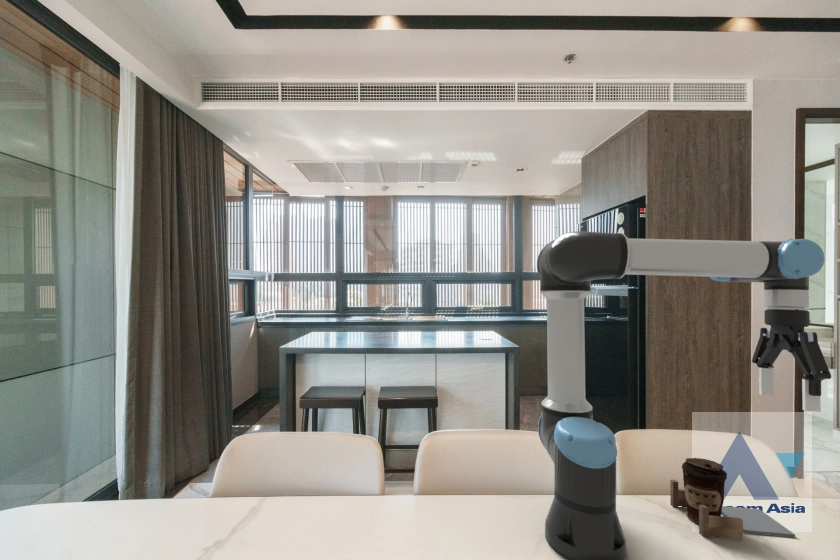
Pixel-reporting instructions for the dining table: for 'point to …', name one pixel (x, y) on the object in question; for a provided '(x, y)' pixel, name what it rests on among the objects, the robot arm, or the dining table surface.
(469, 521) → the dining table surface
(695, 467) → the coffee cup
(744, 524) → the coaster
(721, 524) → the cup holder rails
